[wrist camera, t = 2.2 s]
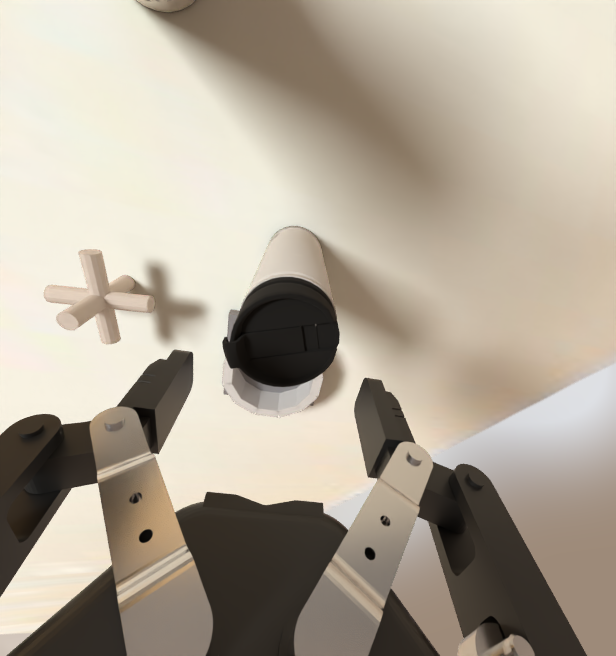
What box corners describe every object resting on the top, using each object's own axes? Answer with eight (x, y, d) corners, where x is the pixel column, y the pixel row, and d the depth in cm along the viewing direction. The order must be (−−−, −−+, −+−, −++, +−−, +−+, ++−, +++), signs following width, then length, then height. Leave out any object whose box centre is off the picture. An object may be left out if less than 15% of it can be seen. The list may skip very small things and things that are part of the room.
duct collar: (230, 309, 36) (221, 327, 32) (332, 326, 38) (335, 345, 34) (225, 388, 43) (217, 412, 39) (312, 400, 44) (313, 424, 40)
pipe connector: (165, 245, 32) (114, 274, 24) (173, 323, 37) (134, 370, 28) (71, 234, 32) (-17, 259, 23) (92, 314, 36) (26, 361, 28)
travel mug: (259, 229, 32) (207, 305, 14) (319, 222, 31) (340, 291, 14) (269, 282, 35) (236, 399, 17) (323, 276, 34) (345, 389, 17)
